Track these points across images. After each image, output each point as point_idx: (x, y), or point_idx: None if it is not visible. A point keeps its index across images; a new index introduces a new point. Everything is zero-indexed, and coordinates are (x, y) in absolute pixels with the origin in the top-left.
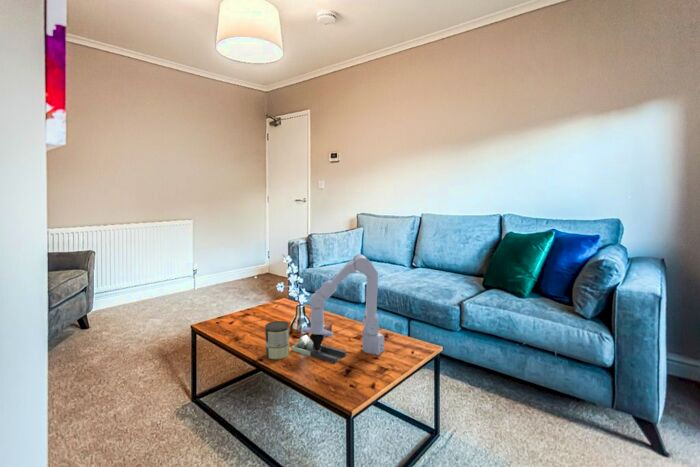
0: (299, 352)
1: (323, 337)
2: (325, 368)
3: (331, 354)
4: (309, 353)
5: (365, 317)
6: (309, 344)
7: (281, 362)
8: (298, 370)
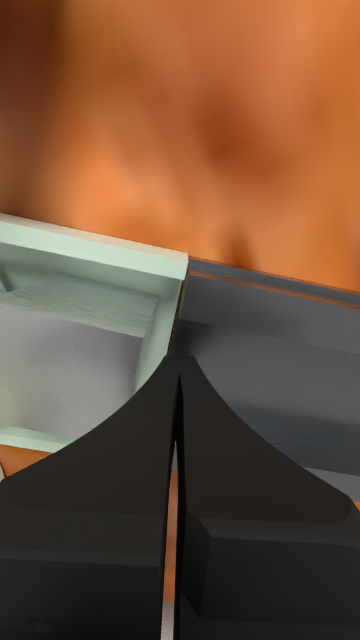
0: None
1: (294, 474)
2: None
3: (333, 363)
4: None
5: None
6: (63, 425)
7: None
8: (169, 555)
